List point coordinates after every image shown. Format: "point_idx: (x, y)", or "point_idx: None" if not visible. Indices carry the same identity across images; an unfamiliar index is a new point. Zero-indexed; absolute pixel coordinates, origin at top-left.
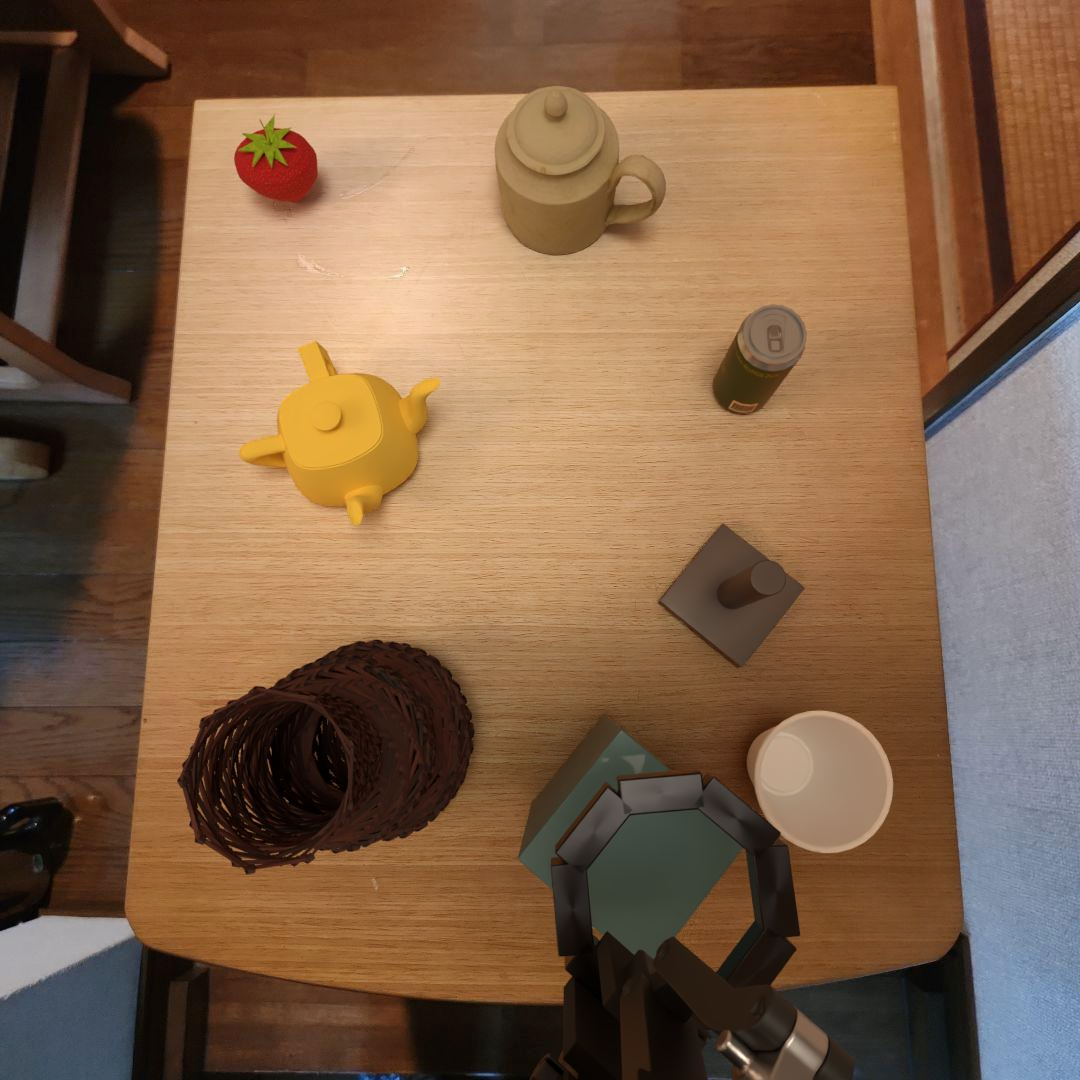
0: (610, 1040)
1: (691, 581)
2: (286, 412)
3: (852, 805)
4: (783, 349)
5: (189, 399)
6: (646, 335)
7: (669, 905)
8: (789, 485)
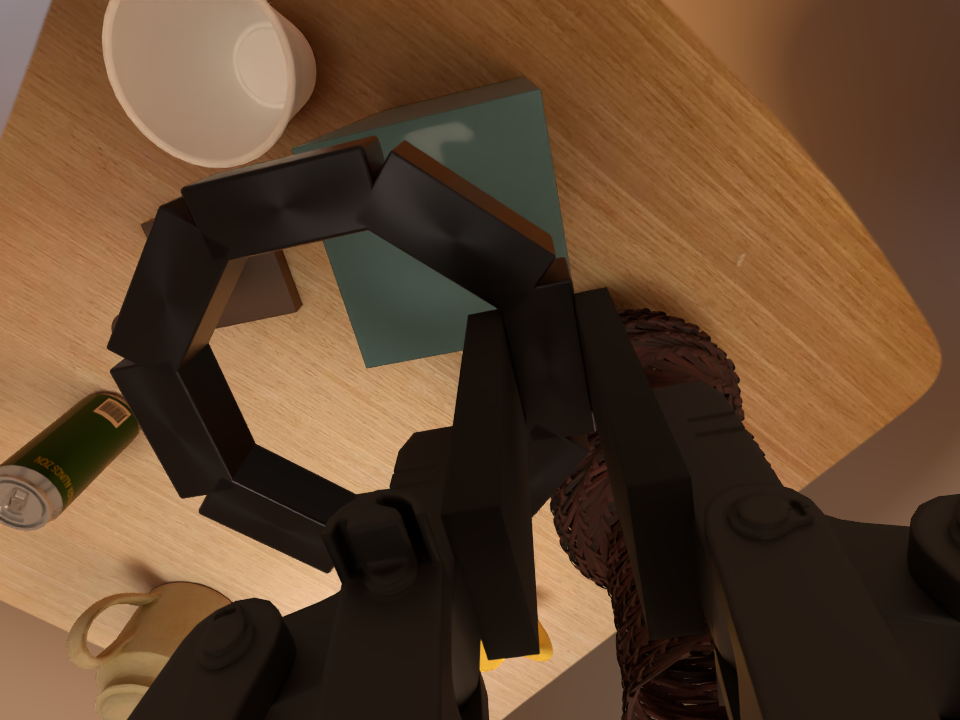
0: (602, 421)
1: (254, 306)
2: (493, 663)
3: None
4: (13, 488)
5: (560, 665)
6: (176, 501)
7: (448, 149)
8: (109, 314)
